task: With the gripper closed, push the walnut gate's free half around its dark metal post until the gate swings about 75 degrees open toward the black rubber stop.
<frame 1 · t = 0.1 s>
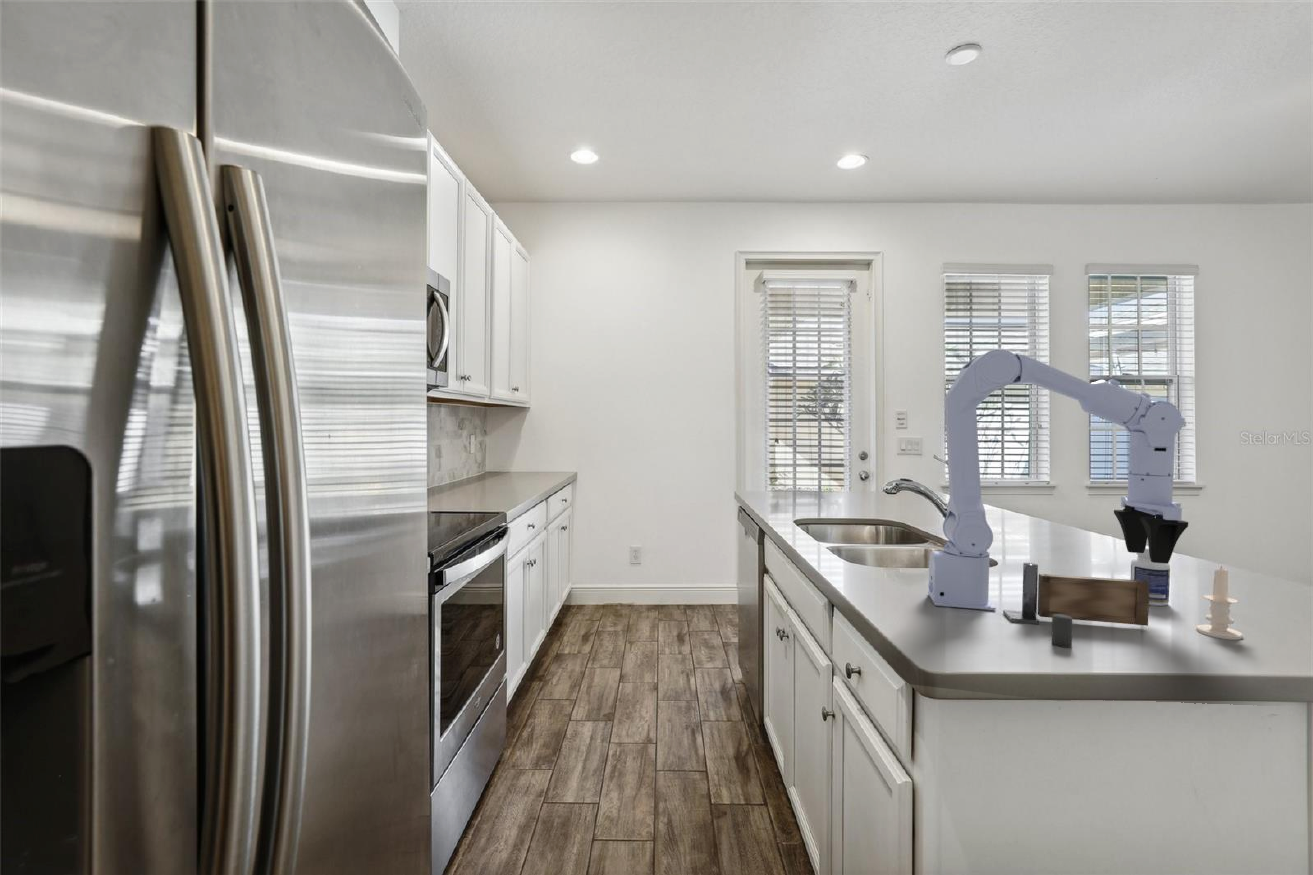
hand: (1147, 557, 100), 10 cm above the countertop, fingers open, 7 cm apart
gate post: (1029, 619, 99), on the countertop
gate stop: (1061, 644, 88), on the countertop
pill bottle: (1149, 603, 109), on the countertop
gate: (1091, 598, 96), point 4 cm above the countertop, hinge at 0.0°
candle: (1218, 635, 93), on the countertop
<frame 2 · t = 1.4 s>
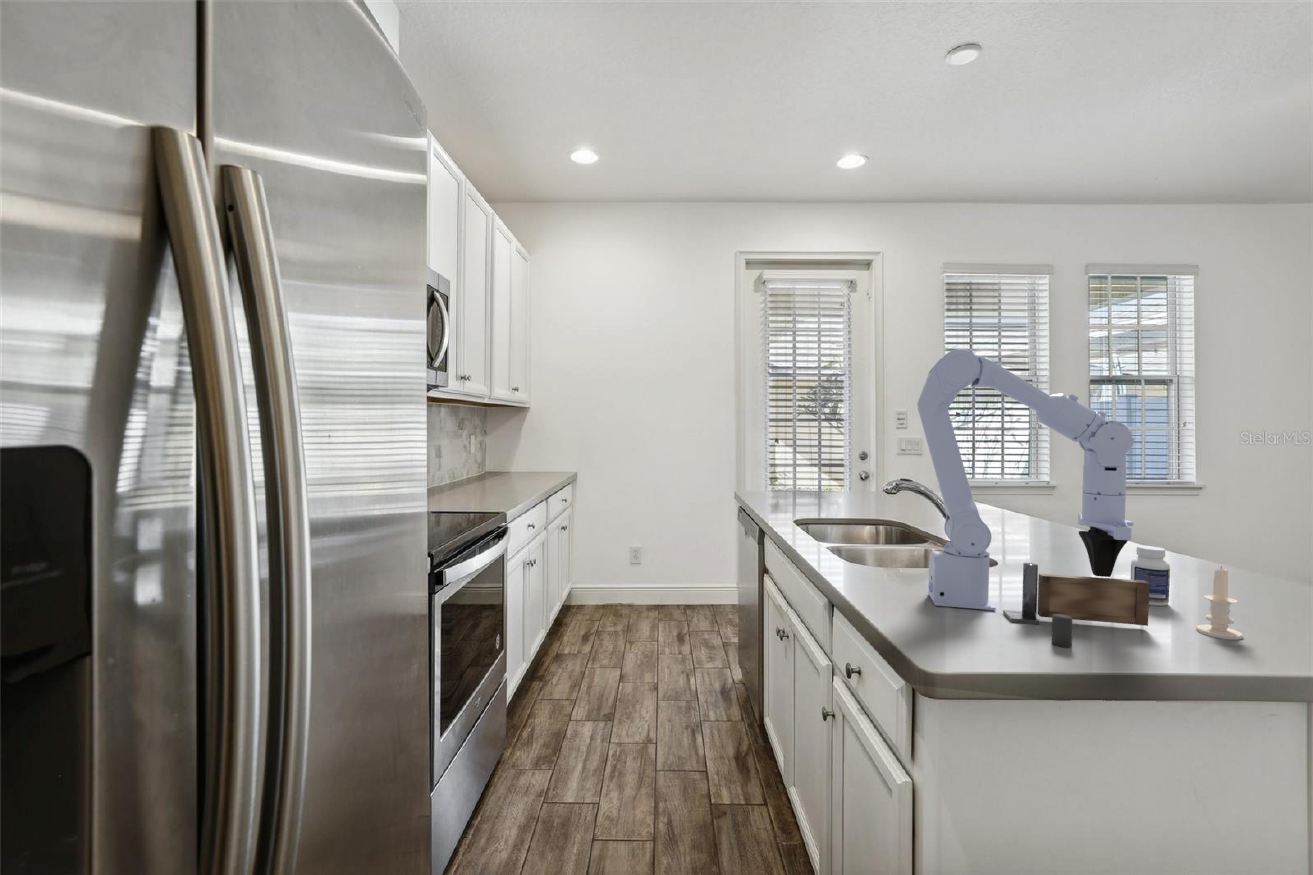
hand: (1101, 575, 101), 7 cm above the countertop, fingers closed
nothing on the countertop moved.
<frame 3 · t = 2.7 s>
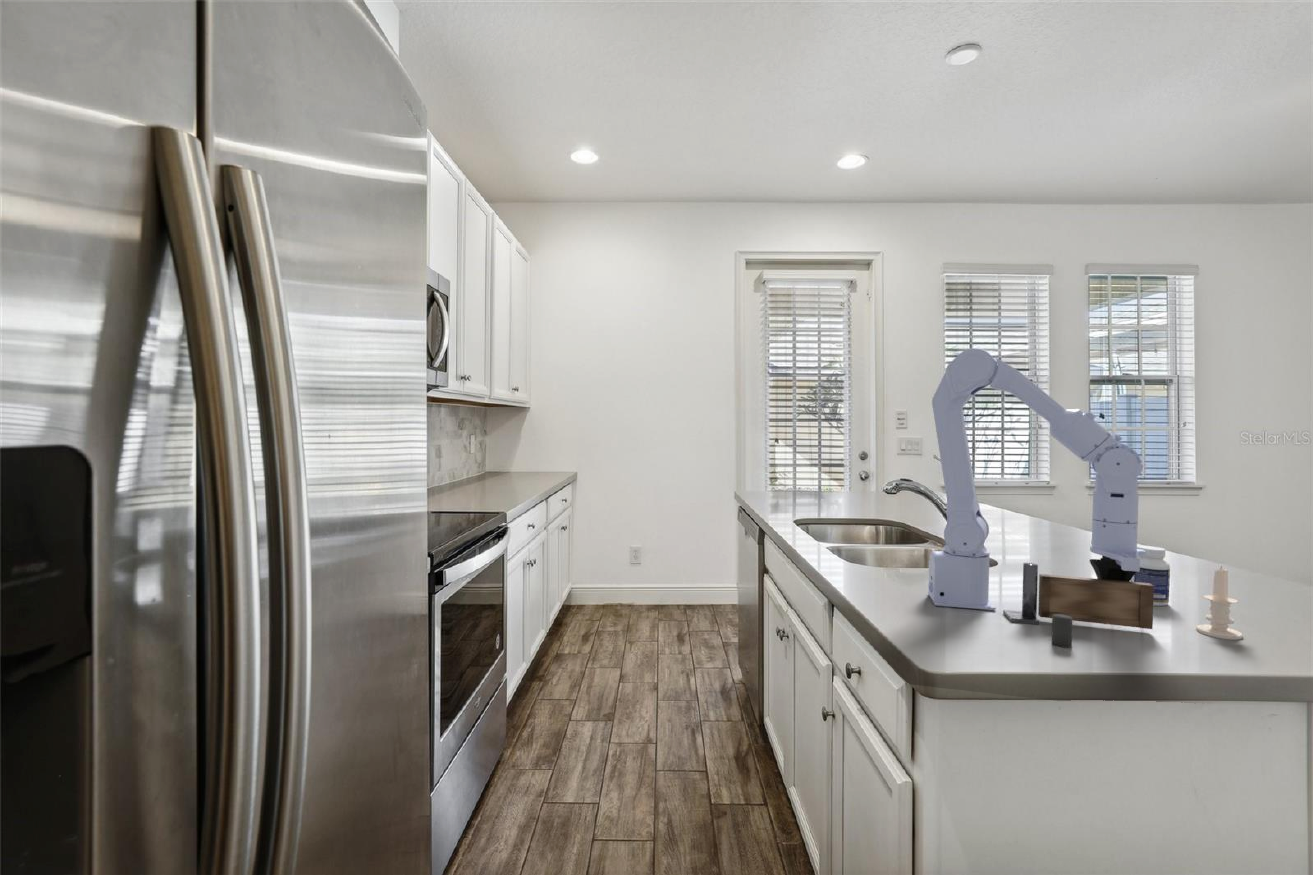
hand: (1112, 606, 96), 3 cm above the countertop, fingers closed
gate: (1093, 600, 95), point 4 cm above the countertop, hinge at 6.0°, touching gripper
everything else where it was.
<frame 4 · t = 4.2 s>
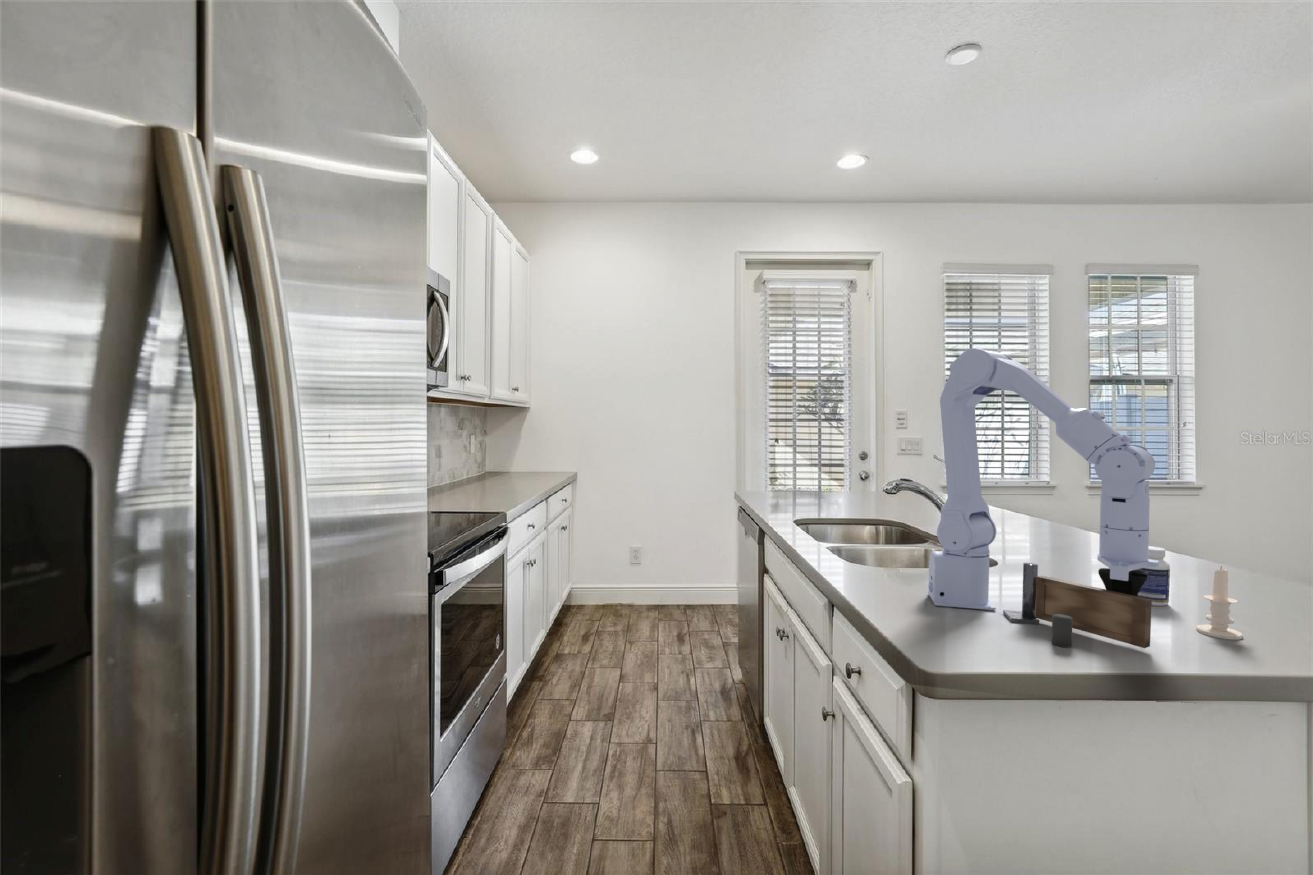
hand: (1121, 619, 90), 3 cm above the countertop, fingers closed
gate: (1089, 609, 91), point 4 cm above the countertop, hinge at 45.3°, touching gripper
everything else where it was.
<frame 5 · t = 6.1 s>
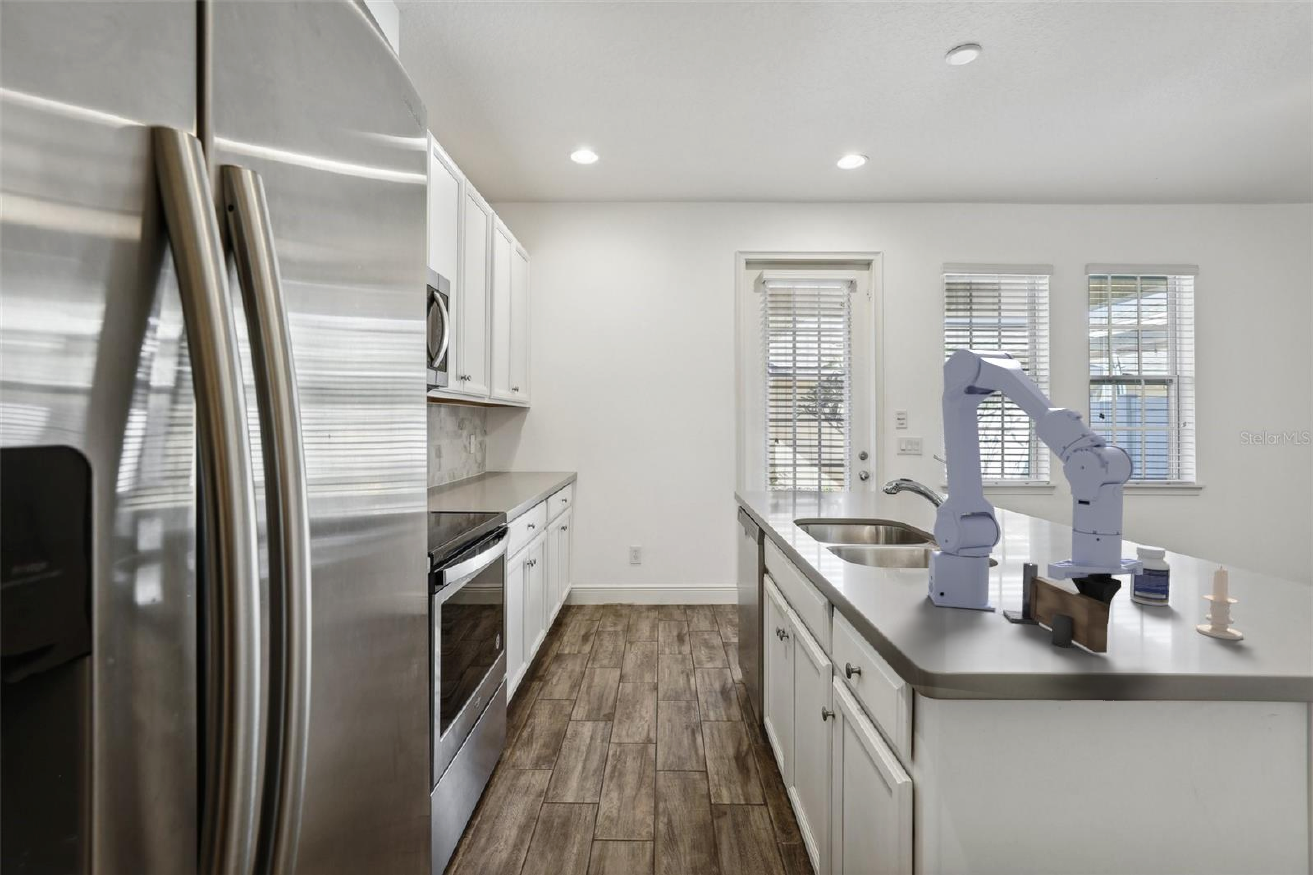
hand: (1094, 626, 87), 3 cm above the countertop, fingers closed, pressing on gate
gate: (1065, 611, 90), point 4 cm above the countertop, hinge at 75.1°, touching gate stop, gripper
everything else where it was.
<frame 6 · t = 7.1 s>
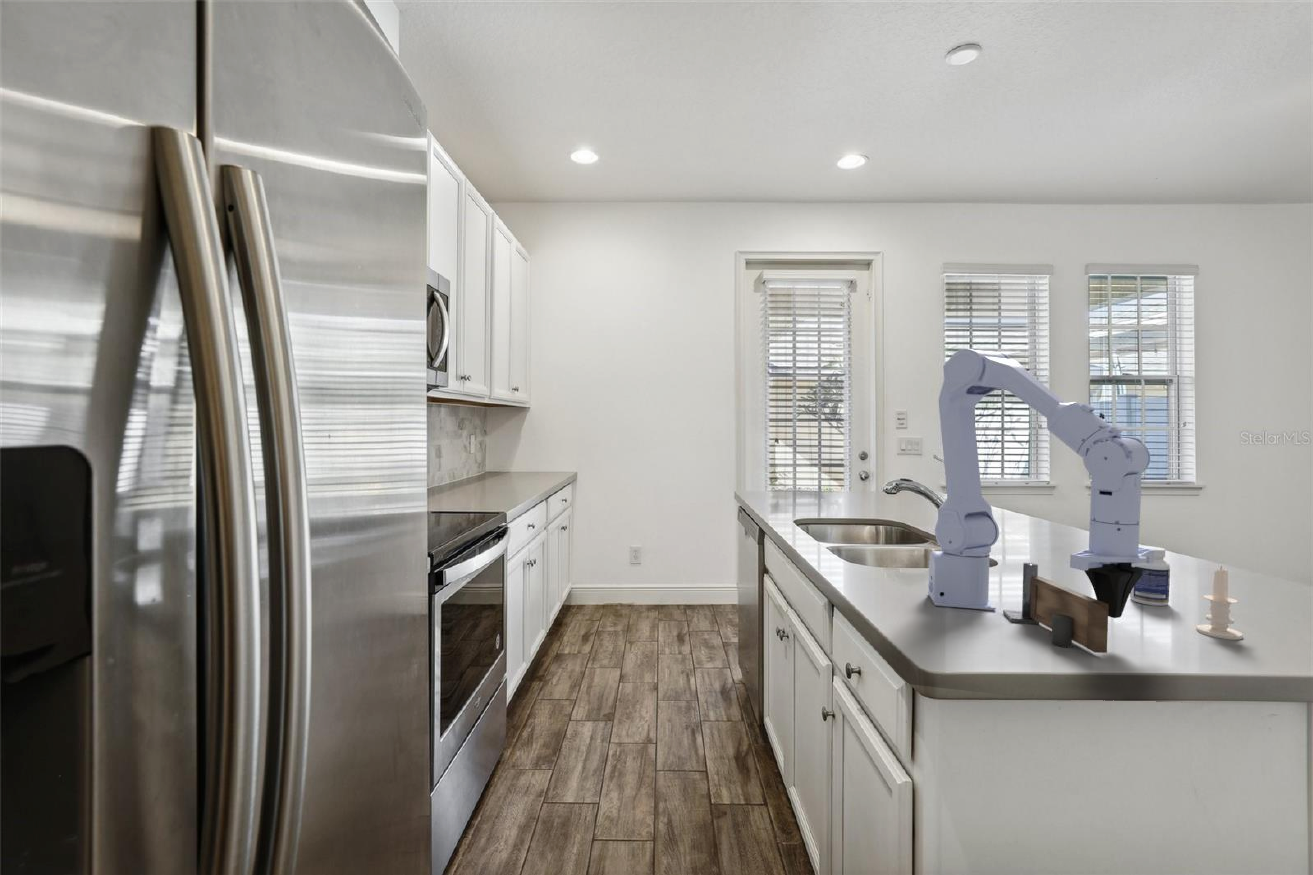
hand: (1110, 615, 88), 4 cm above the countertop, fingers closed
gate: (1065, 611, 90), point 4 cm above the countertop, hinge at 75.1°, touching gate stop
everything else where it was.
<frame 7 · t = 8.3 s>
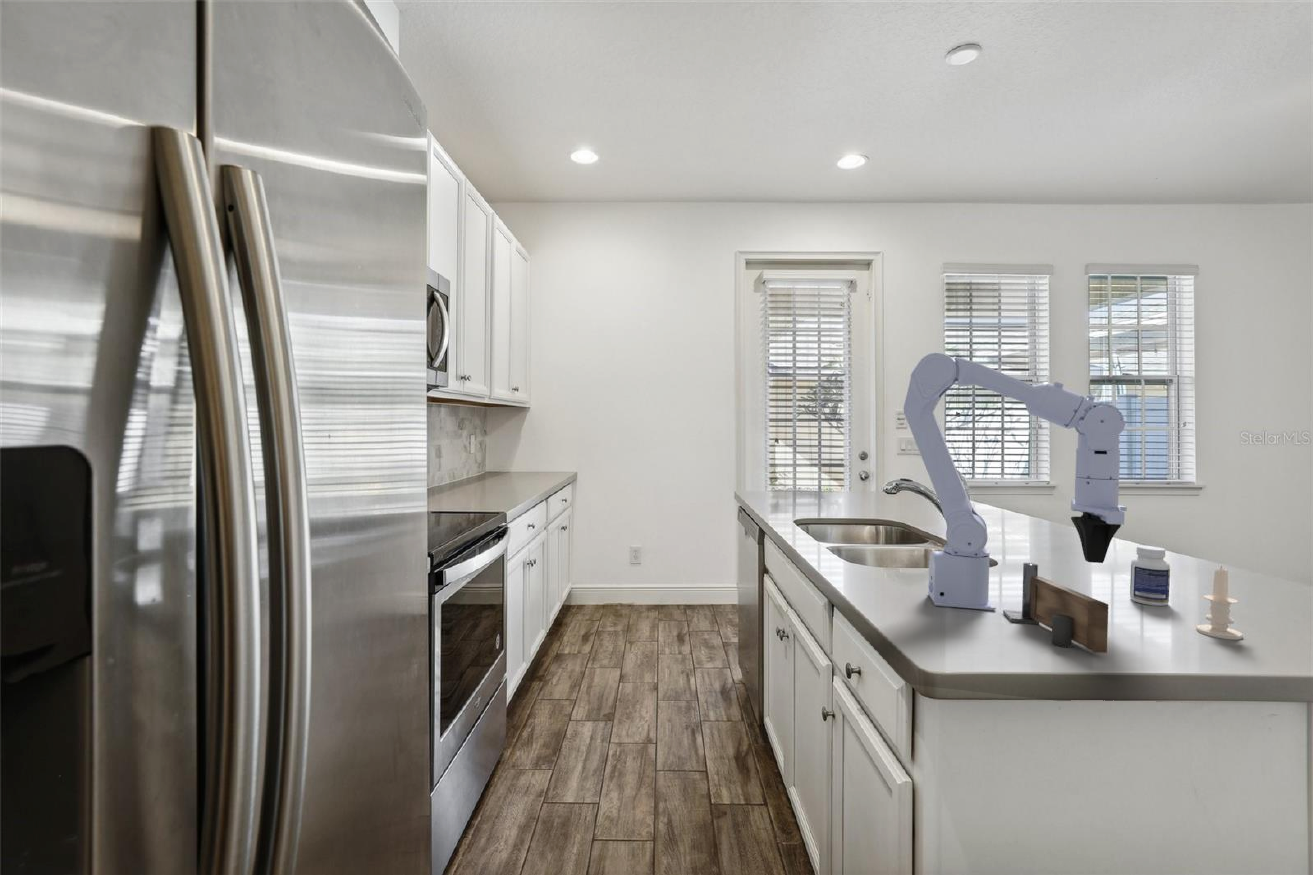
hand: (1094, 561, 99), 9 cm above the countertop, fingers closed
nothing on the countertop moved.
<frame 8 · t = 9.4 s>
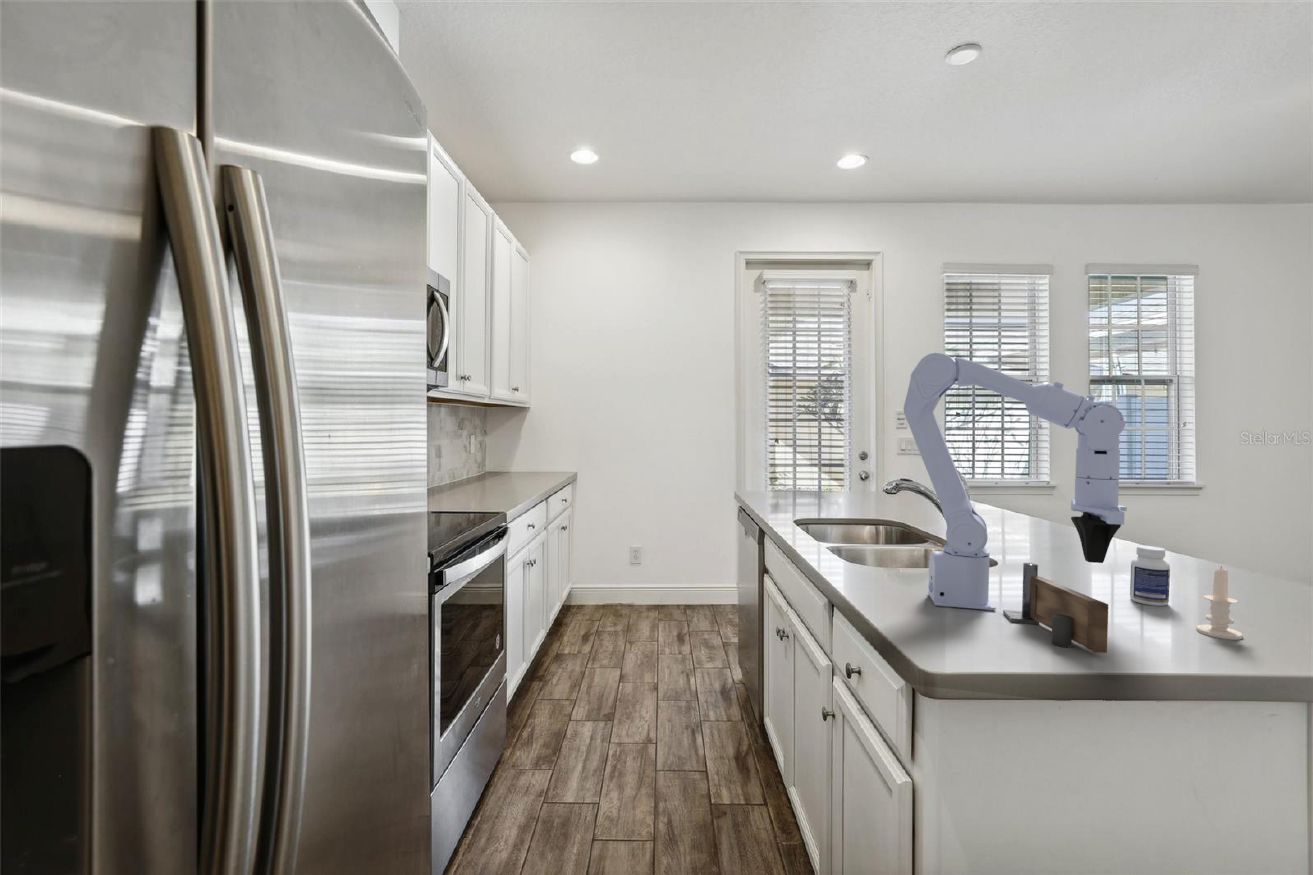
hand: (1094, 561, 99), 9 cm above the countertop, fingers closed
nothing on the countertop moved.
at the end: gate at +75° (first picture: +0°) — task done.
